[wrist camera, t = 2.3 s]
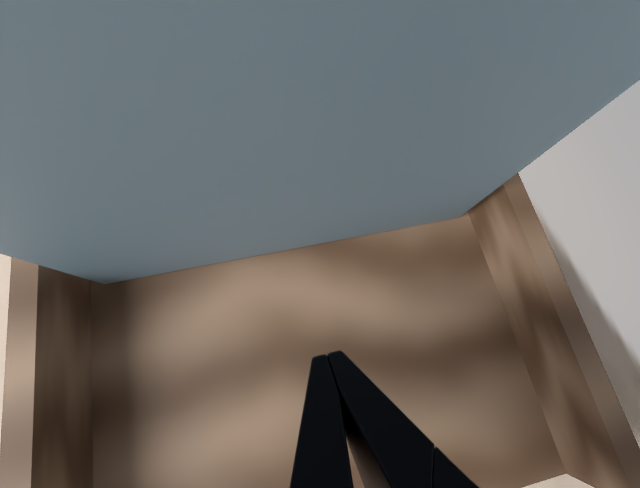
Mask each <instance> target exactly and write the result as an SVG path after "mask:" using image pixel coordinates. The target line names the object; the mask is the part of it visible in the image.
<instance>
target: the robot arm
mask: <svg viewBox="0 0 640 488" xmlns="http://www.w3.org/2000/svg"><path fill="white" fill-rule="evenodd" d="M347 442H348V445H349V448H350V450H351V453H352V456H353V458H354V461H355V464H356V466H357V469H358V471H359V474H360V477H361V479H362V482H363V485H364V487H365V488H480V487H478V486H477V485H476V484H475V483H474V482H473V481H472V480H471V479H469V478H468V477H467V476H466V475H465V474H464V473H463V472H462V471H461V470H460V469H459V468H458V467H457V466H456V465H455V464H454V463H453V462H452V461H451V460H450V459H449V458H448V457H447V456H446V455H445V454H444V453H443V452H442V451H441V450H440V449H439V448H438V447H435V445H434V443H433V442H432V441H431V440H430V439H429V438H428V437H427V436H426V435H425V434H424V433H423V432H422V431H421V430H420V429H419V428H418V427H417V426H416V425H415V424H414V423H413V422H412V421H411V420H410V419H409V418H408V417H407V416H406V415H405V414H404V413H403V412H402V411H401V410H400V409H399V408H398V407H397V406H396V405H395V404H394V403H393V402H392V401H391V400H390V399H389V398H388V397H387V396H386V395H385V394H384V393H383V392H382V391H381V390H380V389H379V388H378V387H377V386H376V385H375V384H374V383H373V382H372V381H371V380H370V379H369V378H368V377H367V376H366V375H365V374H364V373H363V372H362V371H361V369H360V368H359V367H358V366H357V365H356V364H355V363H354V362H353V361H352V360H351V359H350V358H349V357H348V356H347V355H346V354H345V353H344V352H343V351H341V350H337V351H333V352H329V353H328V354H327V355H326V354H321V355H317V356H314V357H313V358H312V360H311V366H310V371H309V377H308V383H307V389H306V395H305V400H304V406H303V412H302V418H301V424H300V429H299V435H298V441H297V447H296V453H295V458H294V464H293V470H292V476H291V482H290V487H289V488H354V486H353V479H352V473H351V466H350V459H349V453H348V446H347Z"/></svg>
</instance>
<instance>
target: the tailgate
mask: <svg viewBox="0 0 640 488" xmlns="http://www.w3.org/2000/svg"><path fill="white" fill-rule="evenodd" d="M638 80H640V0H0V254H4V255H7V256H11V257H14V258H17V259H21V260H24V261H27V262H31V263H34V264H38V265H41V266H44V267H48V268H51V269H54V270H58V271H61V272H65V273H68V274H71V275H75V276H78V277H81V278H85V279H88V280H92V281H95V282H98V283H102V284H109V283H114V282H120V281H125V280H130V279H135V278H141V277H146V276H151V275H157V274H162V273H167V272H173V271H178V270H183V269H188V268H194V267H199V266H204V265H210V264H215V263H220V262H225V261H231V260H236V259H241V258H247V257H252V256H257V255H263V254H268V253H273V252H278V251H284V250H289V249H294V248H300V247H305V246H310V245H316V244H321V243H326V242H331V241H337V240H342V239H347V238H353V237H358V236H363V235H369V234H374V233H379V232H384V231H390V230H395V229H400V228H406V227H411V226H416V225H422V224H427V223H432V222H437V221H443V220H448V219H453V218H459V217H460V216H462V215H463V214H464V213H465V212H467V211H468V210H469V209H471V208H472V207H473V206H475V205H476V204H477V203H479V202H480V201H481V200H483V199H484V198H485V197H486V196H488V195H489V194H490V193H492V192H493V191H494V190H496V189H497V188H498V187H500V186H501V185H502V184H504V183H505V182H506V181H507V180H509V179H510V178H511V177H513V176H514V175H515V174H517V173H518V172H519V171H521V170H522V169H523V168H524V167H526V166H527V165H528V164H530V163H531V162H532V161H534V160H535V159H536V158H537V157H539V156H540V155H542V154H543V153H544V152H545V151H547V150H548V149H549V148H550V147H552V146H553V145H555V144H556V143H557V142H558V141H560V140H561V139H563V138H564V137H565V136H566V135H568V134H569V133H570V132H572V131H573V130H574V129H576V128H577V127H578V126H579V125H581V124H582V123H584V122H585V121H586V120H587V119H589V118H590V117H591V116H593V115H594V114H595V113H596V112H598V111H599V110H601V109H602V108H603V107H604V106H606V105H607V104H608V103H610V102H611V101H612V100H614V99H615V98H616V97H618V96H619V95H620V94H621V93H623V92H624V91H625V90H627V89H628V88H629V87H630V86H632V85H633V84H635V83H636V82H637V81H638Z"/></svg>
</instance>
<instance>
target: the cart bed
mask: <svg viewBox="0 0 640 488" xmlns="http://www.w3.org/2000/svg"><path fill="white" fill-rule="evenodd" d="M337 350H341V351H343V352H344V353H345V354H346V355H347V356H348V357H349V358H350V359H351V360H352V361H353V362H354V363H355V364H356V365H357V366H358V367H359V368H360V369H361V371H362V372H363V373H364V374H365V375H366V376H367V377H368V378H369V379H370V380H371V381H372V382H373V383H374V384H375V385H376V386H377V387H378V388H379V389H380V390H381V391H382V392H383V393H384V394H385V395H386V396H387V397H388V398H389V399H390V400H391V401H392V402H393V403H394V404H395V405H396V406H397V407H398V408H399V409H400V410H401V411H402V412H403V413H404V414H405V415H406V416H407V417H408V418H409V419H410V420H411V421H412V422H413V423H414V424H415V425H416V426H417V427H418V428H419V429H420V430H421V431H422V432H423V433H424V434H425V435H426V436H427V437H428V438H429V439H430V440H431V441H432V442H433V443H434V445H435V447H438V448H439V449H440V450H441V451H442V452H443V453H444V454H445V455H446V456H447V457H448V458H449V459H450V460H451V461H452V462H453V463H454V464H455V465H456V466H457V467H458V468H459V469H460V470H461V471H462V472H463V473H464V474H465V475H466V476H467V477H468V478H469V479H471V480H472V481H473V482H474V483H475V484H476V485H477V486H478V487H480V488H521V487H525V486H528V485H531V484H534V483H537V482H540V481H543V480H547V479H550V478H553V477H556V476H559V475H562V474H565V473H567V474H569V475H571V476H573V477H575V478H577V479H579V480H581V481H583V482H585V483H587V484H589V485H591V486H593V487H595V488H640V449H639V446H638V444H637V442H636V439H635V437H634V435H633V433H632V430H631V428H630V426H629V424H628V421H627V419H626V417H625V414H624V412H623V410H622V408H621V405H620V403H619V401H618V399H617V396H616V394H615V392H614V390H613V387H612V385H611V383H610V380H609V378H608V376H607V374H606V371H605V369H604V367H603V365H602V362H601V360H600V358H599V355H598V353H597V351H596V349H595V346H594V344H593V342H592V340H591V337H590V335H589V333H588V331H587V328H586V326H585V324H584V321H583V319H582V317H581V315H580V312H579V310H578V308H577V306H576V303H575V301H574V299H573V296H572V294H571V292H570V290H569V287H568V285H567V283H566V281H565V278H564V276H563V274H562V272H561V269H560V267H559V265H558V262H557V260H556V258H555V256H554V253H553V251H552V249H551V247H550V244H549V242H548V240H547V237H546V235H545V233H544V231H543V228H542V226H541V224H540V222H539V219H538V217H537V215H536V213H535V210H534V208H533V206H532V203H531V201H530V199H529V197H528V194H527V192H526V190H525V188H524V185H523V183H522V181H521V178H520V176H519V174H518V173H517V174H515V175H514V176H513V177H511V178H510V179H509V180H507V181H506V182H505V183H504V184H502V185H501V186H500V187H498V188H497V189H496V190H494V191H493V192H492V193H490V194H489V195H488V196H486V197H485V198H484V199H483V200H481V201H480V202H479V203H477V204H476V205H475V206H473V207H472V208H471V209H469V210H468V211H467V212H465V213H464V214H463V215H462V216H460V217H459V218H453V219H448V220H443V221H437V222H432V223H427V224H422V225H416V226H411V227H406V228H400V229H395V230H390V231H384V232H379V233H374V234H369V235H363V236H358V237H353V238H347V239H342V240H337V241H331V242H326V243H321V244H316V245H310V246H305V247H300V248H294V249H289V250H284V251H278V252H273V253H268V254H263V255H257V256H252V257H247V258H241V259H236V260H231V261H225V262H220V263H215V264H210V265H204V266H199V267H194V268H188V269H183V270H178V271H173V272H167V273H162V274H157V275H151V276H146V277H141V278H135V279H130V280H125V281H120V282H114V283H109V284H102V283H98V282H95V281H92V280H88V279H85V278H81V277H78V276H75V275H71V274H68V273H65V272H61V271H58V270H54V269H51V268H48V267H44V266H41V265H38V264H34V263H31V262H27V261H24V260H21V259H17V258H14V257H12V258H11V275H10V292H9V309H8V326H7V344H6V361H5V378H4V395H3V412H2V429H1V446H0V488H289V487H290V482H291V476H292V470H293V464H294V458H295V453H296V447H297V441H298V435H299V429H300V424H301V418H302V412H303V406H304V400H305V395H306V389H307V383H308V377H309V371H310V366H311V360H312V358H313V357H314V356H317V355H321V354H326V355H327V354H328V353H329V352H333V351H337ZM347 446H348V453H349V459H350V466H351V473H352V479H353V486H354V488H365V487H364V485H363V482H362V479H361V477H360V474H359V471H358V469H357V466H356V464H355V461H354V458H353V456H352V453H351V450H350V448H349V445H348V442H347Z"/></svg>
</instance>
